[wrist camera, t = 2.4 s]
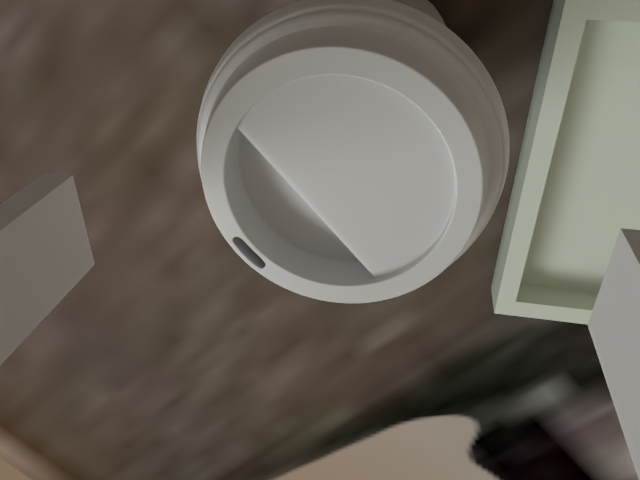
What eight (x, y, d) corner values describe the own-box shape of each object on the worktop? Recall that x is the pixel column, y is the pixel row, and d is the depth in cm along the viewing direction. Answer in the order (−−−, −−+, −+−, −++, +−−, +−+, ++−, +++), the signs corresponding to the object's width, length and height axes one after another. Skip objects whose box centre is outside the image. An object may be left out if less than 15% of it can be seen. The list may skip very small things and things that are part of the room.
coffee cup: (262, -14, 27) (112, 74, 15) (459, -86, 24) (478, -52, 12) (324, 161, 32) (249, 341, 19) (498, 118, 29) (542, 300, 16)
